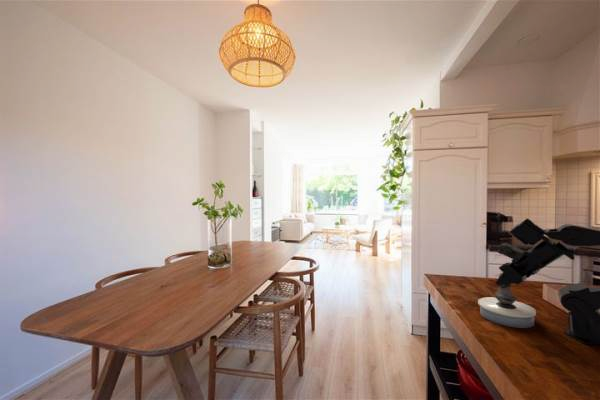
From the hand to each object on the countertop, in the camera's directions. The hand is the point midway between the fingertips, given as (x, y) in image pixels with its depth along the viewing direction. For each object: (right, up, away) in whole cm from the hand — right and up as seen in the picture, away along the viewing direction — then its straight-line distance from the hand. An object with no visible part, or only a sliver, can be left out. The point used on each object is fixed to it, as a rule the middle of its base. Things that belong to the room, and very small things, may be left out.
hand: (499, 282), depth 83 cm
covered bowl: (+1, -11, -1) cm, 12 cm away
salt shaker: (+1, -8, -1) cm, 8 cm away
